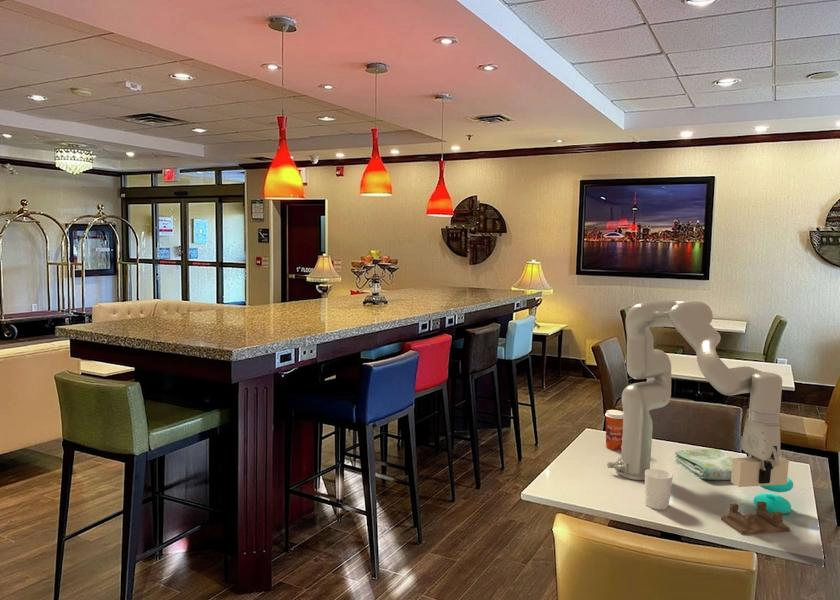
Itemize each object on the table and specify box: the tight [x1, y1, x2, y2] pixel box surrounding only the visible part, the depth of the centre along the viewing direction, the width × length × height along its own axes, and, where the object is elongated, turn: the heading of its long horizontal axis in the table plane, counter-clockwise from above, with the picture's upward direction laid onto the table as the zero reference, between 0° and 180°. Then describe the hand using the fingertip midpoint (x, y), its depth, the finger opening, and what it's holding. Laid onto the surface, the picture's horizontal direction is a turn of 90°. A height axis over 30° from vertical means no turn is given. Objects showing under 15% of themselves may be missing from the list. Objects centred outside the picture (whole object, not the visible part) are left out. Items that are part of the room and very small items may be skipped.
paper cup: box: [604, 409, 623, 451], centre depth 241 cm, size 8×8×14 cm
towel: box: [675, 448, 734, 481], centre depth 221 cm, size 18×21×5 cm
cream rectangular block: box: [730, 455, 790, 488], centre depth 178 cm, size 15×4×7 cm, turn 100°
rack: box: [720, 502, 791, 535], centre depth 180 cm, size 15×9×5 cm, turn 100°
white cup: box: [644, 468, 674, 511], centre depth 191 cm, size 8×8×10 cm
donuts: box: [753, 476, 794, 515], centre depth 191 cm, size 10×10×10 cm
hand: (758, 479), depth 178 cm, fingers closed on cream rectangular block, 3 cm apart
